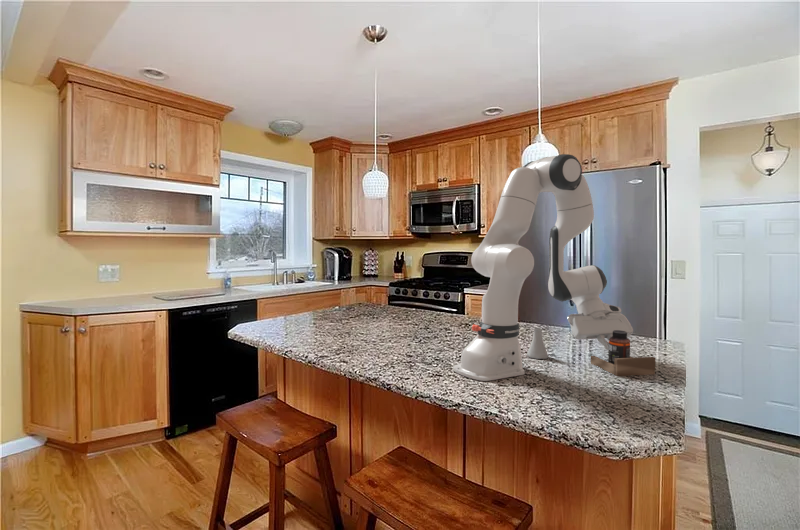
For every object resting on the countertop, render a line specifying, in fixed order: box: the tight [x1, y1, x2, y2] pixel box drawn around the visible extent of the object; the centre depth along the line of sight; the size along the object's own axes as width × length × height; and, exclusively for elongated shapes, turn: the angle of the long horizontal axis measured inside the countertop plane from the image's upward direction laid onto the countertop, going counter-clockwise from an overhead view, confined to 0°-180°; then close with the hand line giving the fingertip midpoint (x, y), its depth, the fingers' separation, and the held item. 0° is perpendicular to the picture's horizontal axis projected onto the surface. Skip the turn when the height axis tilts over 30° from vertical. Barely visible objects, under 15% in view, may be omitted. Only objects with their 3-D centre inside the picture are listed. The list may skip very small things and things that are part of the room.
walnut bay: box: [590, 355, 656, 377], centre depth 124 cm, size 13×12×5 cm
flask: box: [526, 326, 549, 360], centre depth 137 cm, size 7×7×10 cm
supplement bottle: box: [607, 330, 631, 364], centre depth 125 cm, size 6×6×11 cm
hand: (611, 348), depth 129 cm, fingers closed, pressing on supplement bottle
